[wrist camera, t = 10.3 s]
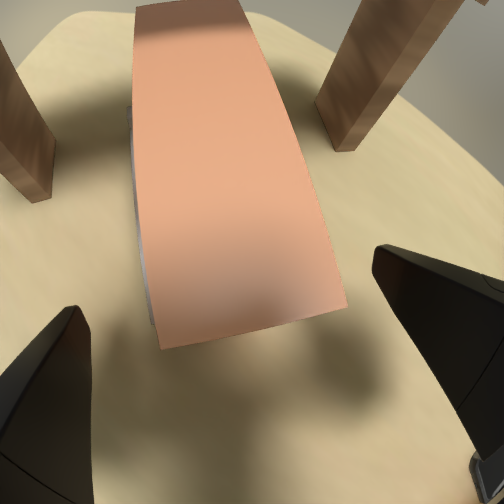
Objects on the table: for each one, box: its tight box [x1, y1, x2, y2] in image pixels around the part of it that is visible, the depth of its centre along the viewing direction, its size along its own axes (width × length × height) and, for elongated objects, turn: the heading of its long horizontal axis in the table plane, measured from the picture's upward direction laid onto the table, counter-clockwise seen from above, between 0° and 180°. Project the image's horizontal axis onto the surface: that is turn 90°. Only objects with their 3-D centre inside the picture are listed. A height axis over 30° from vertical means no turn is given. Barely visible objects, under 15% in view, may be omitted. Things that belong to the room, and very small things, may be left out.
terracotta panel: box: [132, 0, 348, 350], centre depth 12 cm, size 12×4×10 cm, turn 13°
